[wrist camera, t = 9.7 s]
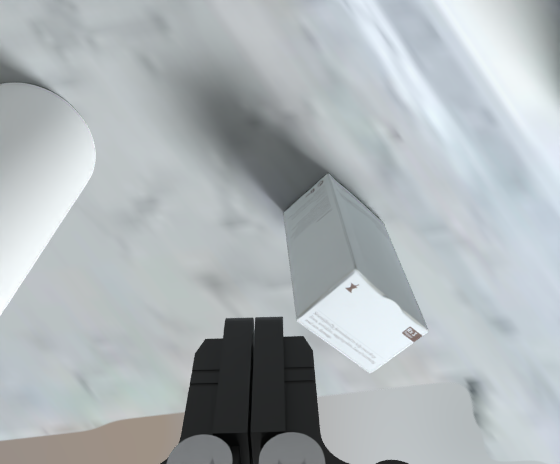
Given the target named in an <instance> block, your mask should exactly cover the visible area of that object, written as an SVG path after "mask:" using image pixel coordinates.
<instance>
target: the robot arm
mask: <svg viewBox="0 0 560 464" xmlns="http://www.w3.org/2000/svg"><path fill="white" fill-rule="evenodd" d="M319 426H320V425H319V414H318V403H317V392H316V383H315V370H314V359H313V350H312V349H311V347H310V346H309V344H308V342H307V341H306V339H305V338H304V336H294V337H283V317H256V318H255V330H254V319H253V318H226V320H225V326H224V335H223V339H205V341H204V342H203V343H202V345H201V346H200V348H199V349H198V350H197V352H196V353H195V357H194V363H193V369H192V375H191V381H190V387H189V392H188V398H187V404H186V410H185V416H184V422H183V427H182V433H181V438H180V441H179V444H178V445H177V446H176V447H175V448H174V449H173V451H172V452H171V454H170V455H169V457H168V458H167V459H166V460H165V461H164V462H162V463H161V464H349V463H345V462H343V461H342V460H339V459H338V458H337V457H335V456H334V455H333V454H332V453H330V452H329V450H328V449H327V448H326V447H325V445H324V443H323V441H322V438H321V434H320V427H319ZM376 464H408V463H405V462H402V461H398V460H385V461H381V462H378V463H376Z"/></svg>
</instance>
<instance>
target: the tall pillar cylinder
mask: <svg viewBox="0 0 560 464" xmlns="http://www.w3.org/2000/svg"><path fill="white" fill-rule="evenodd" d="M95 160H96V151H95V145H94V140H93V137H92V134H91V132H90V130H89V128H88V126H87V124H86V123H85V121H84V120H83V118H82V117H81V115H80V114H79V113H78V112H77V111H76V110H75V109H74V108H73V107H72V106H71V105H70V104H69V103H68V102H67V101H65V100H64V99H63V98H61V97H60V96H58V95H56V94H55V93H53V92H51V91H49V90H47V89H44V88H42V87H39V86H36V85H32V84H27V83H17V82H13V83H3V84H0V316H1V314H2V312H3V311H4V309H5V308H6V306H7V305H8V303H9V302H10V300H11V299H12V297H13V296H14V294H15V293H16V291H17V290H18V288H19V286H20V285H21V283H22V282H23V280H24V279H25V277H26V276H27V274H28V273H29V271H30V270H31V268H32V267H33V265H34V264H35V262H36V260H37V259H38V257H39V256H40V254H41V253H42V251H43V250H44V248H45V247H46V245H47V244H48V242H49V241H50V239H51V238H52V236H53V234H54V233H55V231H56V230H57V228H58V227H59V225H60V224H61V222H62V221H63V219H64V218H65V216H66V215H67V213H68V212H69V210H70V208H71V207H72V205H73V204H74V202H75V201H76V199H77V198H78V196H79V195H80V193H81V192H82V190H83V189H84V187H85V186H86V184H87V182H88V181H89V179H90V177H91V175H92V173H93V170H94V166H95Z"/></svg>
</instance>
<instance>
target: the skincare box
mask: <svg viewBox="0 0 560 464" xmlns="http://www.w3.org/2000/svg"><path fill="white" fill-rule="evenodd" d="M283 215H284V224H285V232H286V240H287V248H288V256H289V263H290V271H291V279H292V287H293V294H294V303H295V311H296V321H297V322H299V323H300V324H301V325H303V326H304V327H305V328H307V329H308V330H310V331H311V332H312V333H314V334H315V335H317V336H318V337H319V338H321V339H322V340H324V341H325V342H326V343H328V344H329V345H330V346H332V347H333V348H335V349H336V350H337V351H339V352H340V353H342V354H343V355H344V356H346V357H347V358H349V359H350V360H351V361H353V362H354V363H356V364H357V365H358V366H360V367H361V368H363V369H364V370H365V371H367V372H368V373H372V372H373V371H375V370H376V369H378V368H379V367H381V366H382V365H383V364H385V363H386V362H388V361H389V360H390V359H392V358H393V357H394V356H396V355H397V354H399V353H400V352H401V351H403V350H404V349H405V348H407V347H408V346H410V345H411V344H412V343H414V342H415V341H416V340H418V339H419V338H420V337H422V336H423V335H425V334H426V333H427V332H428V331H429V330H428V328H427V325H426V323H425V320H424V318H423V316H422V313H421V311H420V308H419V306H418V304H417V301H416V299H415V297H414V294H413V292H412V289H411V287H410V285H409V282H408V280H407V278H406V275H405V273H404V270H403V268H402V266H401V263H400V261H399V258H398V256H397V254H396V251H395V249H394V246H393V244H392V242H391V239H390V237H389V234H388V232H387V230H386V227H385V224H384V223H383V222H382V221H381V220H380V219H379V218H377V217H376V216H375V215H374V214H373V213H372V212H371V211H370V210H369V209H368V208H367V207H366V206H365V205H363V204H362V203H361V202H360V201H359V200H358V199H357V198H356V197H355V196H354V195H352V194H351V193H350V192H349V191H348V190H347V189H346V188H344V187H343V186H342V185H341V184H339V183H338V182H337V181H336V180H335V179H334V178H333V177H332V176H331V175H330V174H326V175H325V176H324V177H323V178H322V179H321V180H319V181H318V182H317V183H316V184H315V185H314V186H313V187H312V188H311V189H310V190H308V191H307V192H306V193H305V194H304V195H303V196H301V197H300V198H299V199H298V200H297V201H296V202H295V203H293V204H292V205H291V206H290V207H289V208H288V209H287V210H286V211H285V212H284V214H283Z"/></svg>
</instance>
